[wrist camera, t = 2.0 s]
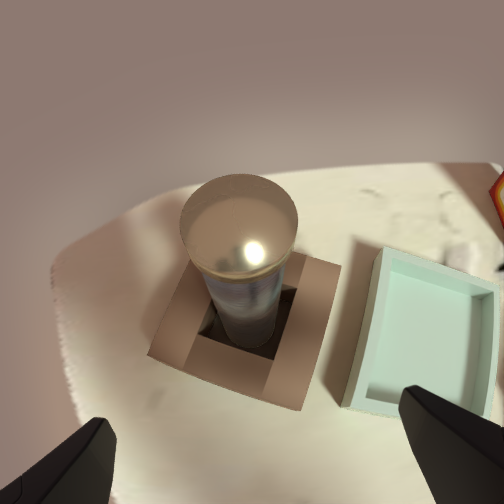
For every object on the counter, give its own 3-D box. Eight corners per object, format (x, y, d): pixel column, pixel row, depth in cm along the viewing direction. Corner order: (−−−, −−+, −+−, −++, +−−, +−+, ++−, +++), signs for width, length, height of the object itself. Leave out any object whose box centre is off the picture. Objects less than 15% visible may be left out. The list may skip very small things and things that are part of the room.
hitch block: (294, 410, 19) (300, 410, 16) (160, 362, 20) (146, 354, 18) (332, 283, 23) (341, 265, 20) (211, 247, 25) (206, 226, 22)
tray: (469, 427, 16) (487, 426, 14) (340, 407, 19) (350, 407, 16) (484, 296, 22) (499, 285, 20) (373, 260, 24) (384, 245, 22)
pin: (267, 358, 21) (278, 287, 9) (213, 340, 21) (160, 250, 10) (284, 307, 22) (309, 189, 11) (233, 291, 23) (208, 164, 12)
